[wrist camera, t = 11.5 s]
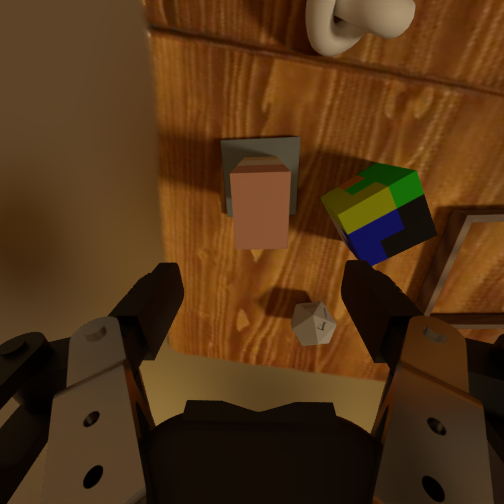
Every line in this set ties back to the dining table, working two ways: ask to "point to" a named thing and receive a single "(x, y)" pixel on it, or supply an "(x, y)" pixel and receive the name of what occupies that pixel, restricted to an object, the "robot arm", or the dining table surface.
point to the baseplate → (265, 147)
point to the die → (312, 323)
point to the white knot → (354, 22)
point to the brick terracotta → (261, 206)
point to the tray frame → (443, 265)
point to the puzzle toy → (380, 212)
